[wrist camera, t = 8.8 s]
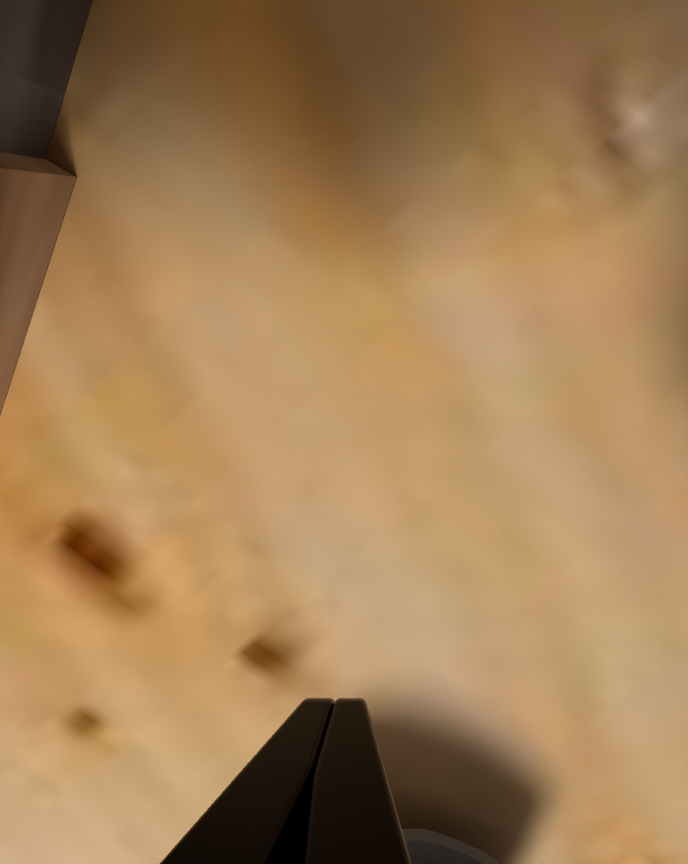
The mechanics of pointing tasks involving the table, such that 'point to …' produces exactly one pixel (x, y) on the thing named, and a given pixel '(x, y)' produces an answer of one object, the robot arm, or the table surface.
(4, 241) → the toolbox
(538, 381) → the table surface
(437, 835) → the bluetooth speaker
